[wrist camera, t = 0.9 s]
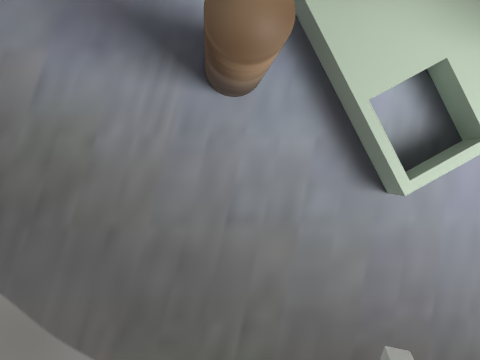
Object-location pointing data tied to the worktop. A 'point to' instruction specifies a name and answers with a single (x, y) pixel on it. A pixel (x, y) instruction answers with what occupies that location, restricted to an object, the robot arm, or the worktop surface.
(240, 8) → the walnut leg
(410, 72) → the upturned stool
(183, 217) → the worktop surface
